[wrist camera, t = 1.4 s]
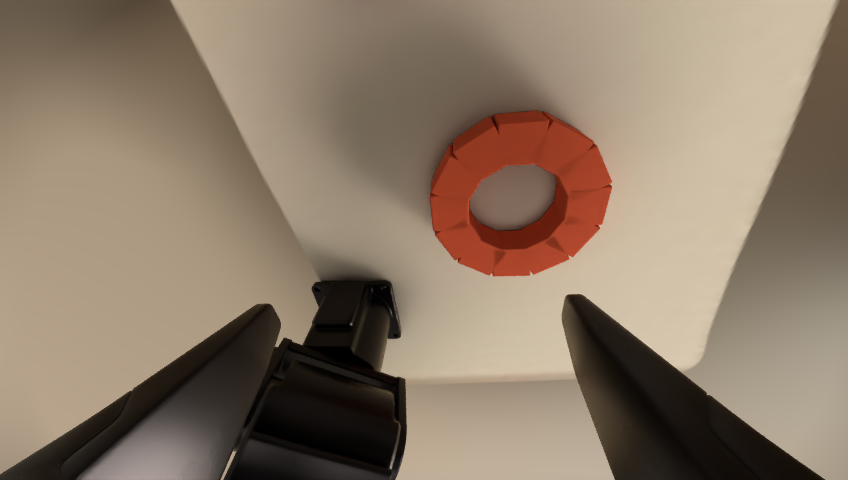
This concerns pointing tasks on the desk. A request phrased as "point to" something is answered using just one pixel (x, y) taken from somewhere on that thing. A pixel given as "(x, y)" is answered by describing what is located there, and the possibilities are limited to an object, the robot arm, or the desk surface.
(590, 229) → the orange faceted ring
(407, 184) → the desk surface
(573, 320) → the robot arm
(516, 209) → the desk surface
